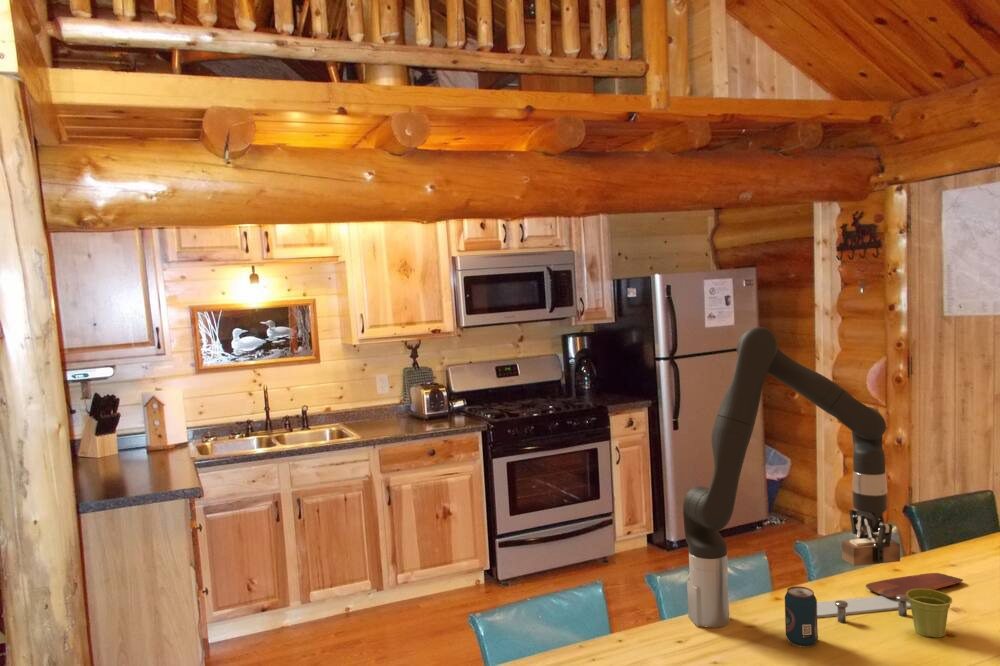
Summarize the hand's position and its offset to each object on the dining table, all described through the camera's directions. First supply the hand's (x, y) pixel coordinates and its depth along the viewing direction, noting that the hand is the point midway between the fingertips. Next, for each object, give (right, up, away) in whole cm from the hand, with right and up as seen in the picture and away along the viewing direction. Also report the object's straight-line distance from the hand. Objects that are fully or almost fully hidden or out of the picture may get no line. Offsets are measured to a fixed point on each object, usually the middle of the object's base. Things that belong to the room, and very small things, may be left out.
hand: (870, 557), depth 181 cm
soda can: (-21, -17, -9) cm, 28 cm away
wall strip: (0, -15, +7) cm, 17 cm away
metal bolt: (+9, -15, +2) cm, 17 cm away
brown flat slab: (+21, -13, +17) cm, 29 cm away
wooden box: (0, -1, 0) cm, 1 cm away
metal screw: (-7, -16, 0) cm, 17 cm away
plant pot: (+10, -15, -8) cm, 20 cm away
